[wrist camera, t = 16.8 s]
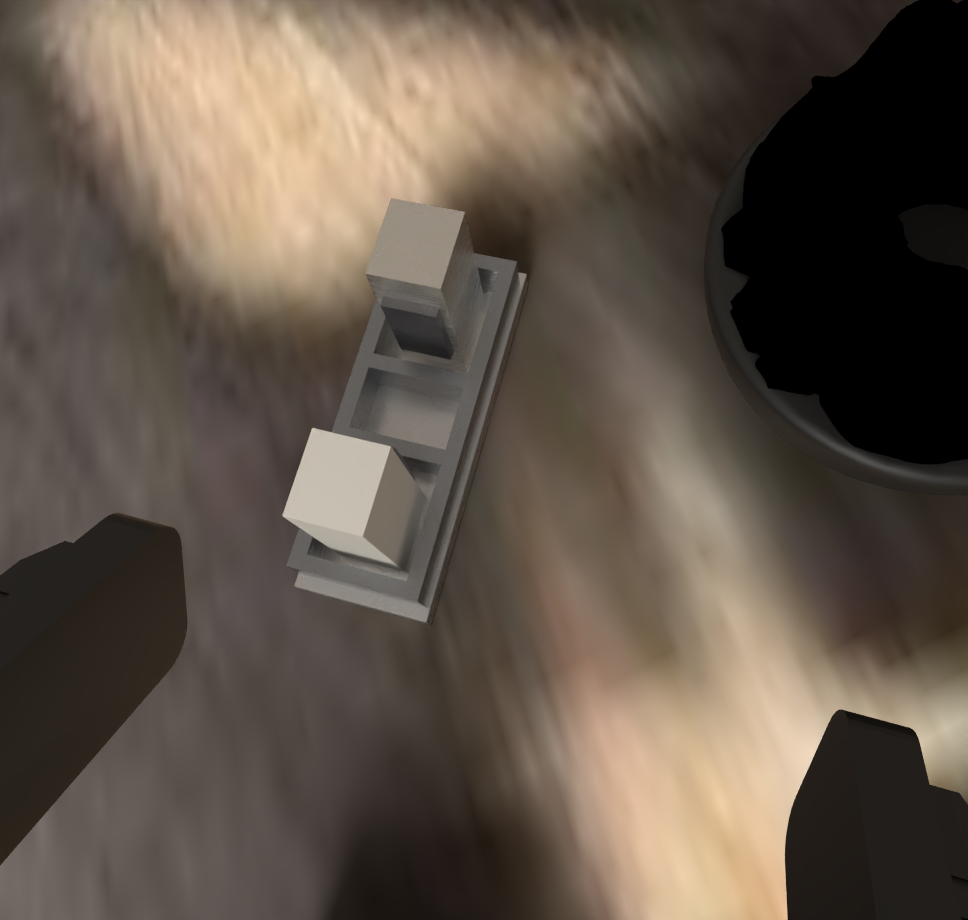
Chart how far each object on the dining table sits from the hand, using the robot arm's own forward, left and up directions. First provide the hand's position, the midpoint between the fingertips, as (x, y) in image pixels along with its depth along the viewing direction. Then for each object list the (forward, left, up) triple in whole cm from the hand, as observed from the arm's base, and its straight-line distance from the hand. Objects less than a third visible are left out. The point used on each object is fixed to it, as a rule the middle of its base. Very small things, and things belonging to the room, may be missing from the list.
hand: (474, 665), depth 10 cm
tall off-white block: (+3, -12, -32) cm, 34 cm away
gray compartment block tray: (-1, -16, -34) cm, 37 cm away
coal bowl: (-24, -7, -34) cm, 42 cm away
